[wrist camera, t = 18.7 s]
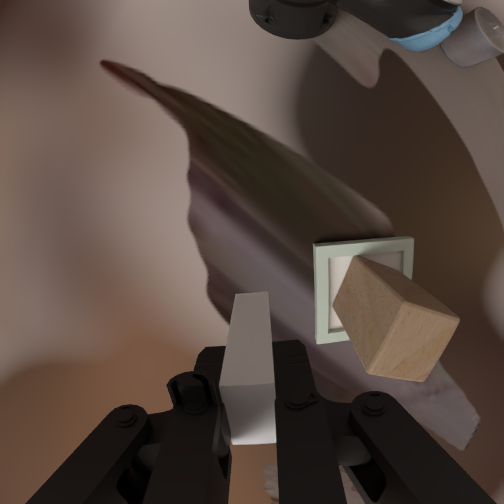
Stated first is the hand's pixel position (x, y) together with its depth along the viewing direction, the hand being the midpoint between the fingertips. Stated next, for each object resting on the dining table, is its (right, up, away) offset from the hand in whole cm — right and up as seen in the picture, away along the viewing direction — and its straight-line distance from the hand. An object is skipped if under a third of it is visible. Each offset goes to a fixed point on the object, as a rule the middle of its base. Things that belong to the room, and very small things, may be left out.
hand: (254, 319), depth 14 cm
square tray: (+20, -3, +36) cm, 41 cm away
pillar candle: (+42, +45, +23) cm, 66 cm away
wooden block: (+20, -3, +35) cm, 40 cm away
